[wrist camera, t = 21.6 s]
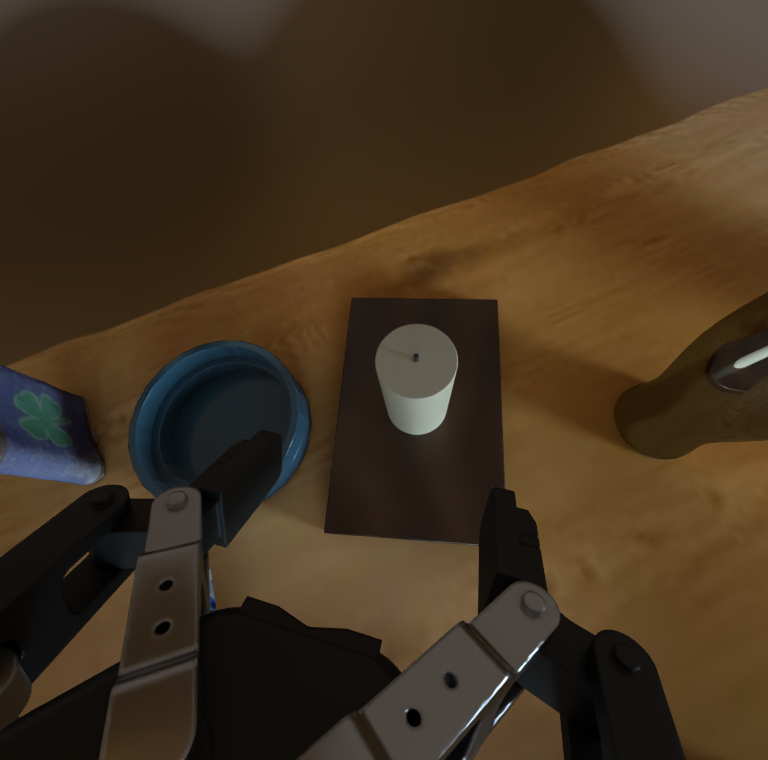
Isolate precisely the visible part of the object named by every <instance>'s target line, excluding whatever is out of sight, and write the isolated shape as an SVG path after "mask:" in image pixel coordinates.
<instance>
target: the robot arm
mask: <svg viewBox="0 0 768 760" xmlns="http://www.w3.org/2000/svg"><path fill="white" fill-rule="evenodd" d="M281 471H282V436H281V434H278V433H274V432H270V431H266V430H260V431H259V432H258V433H257V434H256V435H255V436H254V437H253V438H251V439H250V440H247V439H244V440H242V441H240V442H238V443H236V444H234V445H232V446H231V447H230V448H229V449H228V450H227V451H226V452H225V453H223V455H221V456H220V457H219V458H218V459H217V460H216V462H214V463H213V464H211V465H210V466H209V467H208V468H207V469H206V470H205V471H204V472H203V473H202V474H201V475H200V476H198V477H197V478H196V479H195V480H194V481H193V482H192V483H191V484H190V485H189V486H181V487H175V488H172V489H169V490H167V491H165V492H163V493H161V494H160V495H159V496H157V497H156V499H130V496H129V492H128V490H127V489H126V488H125V487H123V486H120V485H106V486H101V487H98V488H95V489H93V490H90V491H88V492H87V493H85V494H83V495H82V496H81V497H79V498H78V499H77V500H75V501H74V502H73V503H71V504H70V505H69V506H67V507H66V508H65V509H64V510H62V511H61V512H60V513H58V514H57V515H56V516H54V517H53V518H52V519H50V520H49V521H48V522H46V523H45V524H44V525H42V526H41V527H40V528H38V529H37V530H36V531H34V532H33V533H32V534H30V535H29V536H28V537H27V538H25V539H24V540H23V541H21V542H20V543H19V544H17V545H16V546H15V547H13V548H12V549H11V550H9V551H8V552H7V553H5V554H4V555H3V556H1V557H0V760H473V758H474V757H475V755H476V754H477V752H478V751H479V749H480V748H481V746H482V744H483V743H484V741H485V740H486V738H487V737H488V735H489V734H490V733H491V732H492V730H493V729H494V728H495V726H496V725H497V724H498V723H499V721H500V720H501V719H502V718H503V716H504V715H505V714H506V713H507V711H508V710H509V709H510V707H511V706H512V705H513V704H514V702H515V701H516V700H517V699H518V697H519V696H520V695H521V694H522V692H523V691H524V690H525V689H526V690H528V691H529V692H530V693H532V694H533V695H535V696H536V697H538V698H539V699H540V700H542V701H543V702H545V703H546V704H548V705H549V706H550V707H552V708H553V709H555V710H556V711H558V712H559V713H560V720H561V731H562V741H563V751H564V760H686V758H685V755H684V752H683V749H682V746H681V743H680V740H679V737H678V734H677V731H676V727H675V724H674V721H673V718H672V715H671V712H670V709H669V706H668V703H667V700H666V696H665V693H664V690H663V687H662V684H661V681H660V678H659V675H658V672H657V669H656V666H655V664H654V663H653V661H652V659H651V658H650V656H649V655H648V653H647V652H646V651H645V650H644V649H643V648H642V647H641V646H640V645H639V644H638V643H637V642H635V641H634V640H633V639H631V638H630V637H628V636H627V635H625V634H623V633H620V632H618V631H614V630H603V631H600V632H599V633H597V635H596V636H595V635H594V634H592V633H590V632H588V631H587V630H585V629H583V628H582V627H580V626H578V625H577V624H575V623H573V622H572V621H570V620H569V619H568V618H566V617H565V616H564V615H563V614H562V613H561V612H560V611H559V608H558V606H557V604H556V602H555V600H554V599H553V598H552V596H551V595H550V594H549V593H548V591H547V586H546V580H545V574H544V568H543V562H542V556H541V550H540V544H539V539H538V532H537V526H536V522H535V521H534V519H533V518H532V516H531V514H530V513H529V511H528V510H525V509H521V508H517V507H516V499H515V492H514V491H511V490H506V489H502V488H498V487H494V486H492V488H491V490H490V494H489V497H488V500H487V504H486V507H485V510H484V514H483V517H482V521H481V526H480V534H479V586H478V615H477V616H476V617H475V618H474V619H473V620H472V621H471V622H469V623H466V622H465V621H461V622H459V623H457V624H456V625H455V626H454V627H453V628H451V629H450V630H449V631H448V632H447V633H446V634H445V635H444V636H442V637H441V638H440V639H439V640H438V641H437V642H436V643H435V644H434V645H432V646H431V647H430V648H429V649H428V650H427V651H426V652H425V653H423V654H422V655H421V656H420V657H419V658H418V659H417V660H416V661H414V662H413V663H412V664H411V665H410V666H409V667H408V668H407V669H405V670H404V671H403V672H402V673H401V671H400V670H399V669H398V668H397V667H396V666H395V665H394V664H393V663H392V662H391V661H390V660H389V659H388V658H387V657H385V656H384V655H382V654H381V653H380V648H381V642H382V640H380V639H377V638H374V637H371V636H368V635H365V634H362V633H359V632H355V631H352V630H349V629H341V628H319V627H309V626H306V625H305V624H303V623H302V622H300V621H299V620H298V619H296V618H295V617H293V616H292V615H290V614H289V613H288V612H286V611H285V610H283V609H282V608H280V607H279V606H276V605H273V604H270V603H267V602H264V601H261V600H258V599H255V598H252V597H249V596H247V598H246V599H245V601H244V602H243V604H242V606H241V607H233V608H225V609H220V610H217V611H213V612H210V585H209V554H208V551H209V550H210V549H211V548H212V546H213V545H214V544H216V545H219V546H222V547H227V546H228V545H229V543H230V542H231V541H232V540H233V538H234V537H235V536H236V534H237V533H238V532H239V530H240V529H241V528H242V527H243V525H244V524H245V523H246V521H247V520H248V519H249V518H250V516H251V515H252V514H253V512H254V511H255V510H256V508H257V507H258V506H259V505H260V503H261V502H262V501H263V499H264V498H265V497H266V496H267V494H268V493H269V492H270V490H271V489H272V488H273V486H274V485H275V484H276V483H277V481H278V479H279V477H280V475H281ZM88 551H89V555H88V556H87V557H86V558H85V559H84V560H83V561H82V562H81V563H80V564H79V565H77V566H76V567H75V568H74V569H73V570H72V571H71V572H70V573H69V574H68V575H67V576H66V577H65V578H64V579H63V577H64V576H65V574H66V572H67V571H68V570H69V569H70V568H71V567H72V566H73V565H74V564H75V563H76V562H77V561H78V560H79V559H80V558H82V557H83V556H84V555H85V554H86V553H87V552H88ZM135 569H136V571H135V577H134V583H133V589H132V595H131V601H130V607H129V613H128V619H127V625H126V631H125V637H124V643H123V649H122V655H121V661H120V662H118V663H116V664H115V665H113V666H111V667H109V668H108V669H106V670H104V671H102V672H100V673H99V674H97V675H95V676H93V677H91V678H90V679H88V680H86V681H84V682H82V683H81V684H79V685H77V686H75V687H74V688H72V689H70V690H68V691H66V692H65V693H63V694H61V695H59V696H57V697H56V698H54V699H52V700H50V701H49V702H47V703H45V704H43V705H41V706H40V707H38V708H36V709H34V710H32V711H31V712H29V713H27V714H25V715H24V716H22V717H20V718H19V714H20V713H21V712H22V710H23V709H24V707H25V706H26V704H27V702H28V700H29V698H30V695H31V691H32V683H33V682H34V681H35V680H36V679H37V678H38V676H39V675H40V674H41V673H42V672H43V671H44V670H45V669H46V668H47V666H48V665H49V664H50V663H51V662H52V661H53V660H54V659H55V658H56V656H57V655H58V654H59V653H60V652H61V651H62V650H63V649H64V648H65V646H66V645H67V644H68V643H69V642H70V641H71V640H72V639H73V638H74V637H75V635H76V634H77V633H78V632H79V631H80V630H81V629H82V628H83V627H84V625H85V624H86V623H87V622H88V621H89V620H90V619H91V618H92V617H93V615H94V614H95V613H96V612H97V611H98V610H99V609H100V608H101V607H102V605H103V604H104V603H105V602H106V601H107V600H108V599H109V598H110V597H111V595H112V594H113V593H114V592H115V591H116V590H117V589H118V588H119V587H120V585H121V584H122V583H123V582H124V581H125V580H126V579H127V578H128V577H129V576H130V574H131V573H132V572H133V571H134V570H135Z"/></svg>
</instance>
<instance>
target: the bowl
mask: <svg viewBox="0 0 768 760" xmlns="http://www.w3.org/2000/svg"><path fill="white" fill-rule="evenodd" d="M260 430H266V431H270V432H274V433H278V434H281V436H282V471H281V475H280V477H279V479H278V481H277V483H276V484H275V485H274V486H273V488H272V489H271V490H270V492H269V493H268V494H267V496H266V497H265V498H264V499H263V500H265V499H267V498H269V497H271V496H272V495H273V494H274V493H275V492H277V491H278V490H279V489H280V488H281V487H282V486H284V485H285V484H286V483H287V482H288V481H289V479H290V478H291V476H292V475H293V474H294V472H295V471H296V469H297V468H298V467H299V465H300V463H301V461H302V459H303V457H304V454H305V452H306V449H307V447H308V443H309V438H310V431H311V414H310V406H309V402H308V400H307V397H306V395H305V393H304V390H303V388H302V386H301V385H300V384H299V383H298V381H297V380H296V379H295V378H294V377H293V376H292V374H291V373H290V372H289V371H288V370H287V368H286V367H285V366H284V365H283V364H282V363H281V361H280V360H279V359H278V358H277V357H276V356H275V355H273V354H271V353H270V352H268V351H267V350H265V349H264V348H262V347H260V346H257V345H254V344H250V343H247V342H244V341H224V340H222V341H217V342H212V343H207V344H203V345H200V346H197V347H195V348H193V349H191V350H189V351H186V352H184V353H182V354H180V355H179V356H178V357H176V358H175V359H173V360H172V361H171V362H169V363H168V364H167V365H165V366H164V367H163V368H162V369H161V370H160V371H159V372H158V374H157V375H156V376H155V377H154V378H153V379H152V380H151V381H150V382H149V384H148V385H147V387H146V388H145V390H144V392H143V393H142V395H141V397H140V399H139V400H138V402H137V404H136V407H135V410H134V413H133V417H132V420H131V423H130V429H129V445H128V447H129V452H130V457H131V461H132V466H133V469H134V471H135V472H136V474H137V476H138V478H139V479H140V481H141V483H142V485H143V486H144V487H145V488H146V489H147V490H148V491H149V492H150V493H151V494H153V495H154V496H155V497H157V496H159V495H160V494H161V493H163V492H165V491H167V490H169V489H172V488H175V487H181V486H189V485H190V484H191V483H192V482H193V481H194V480H195V479H196V478H197V477H198V476H200V475H201V474H202V473H203V472H204V471H205V470H206V469H207V468H208V467H209V466H210V465H211V464H213V463H214V462H216V460H217V459H218V458H219V457H220V456H221V455H223V453H225V452H226V451H227V450H228V449H229V448H230V447H231V446H232V445H234V444H236V443H238V442H240V441H242V440H244V439H247V440H250V439H251V438H253V437H254V436H255V435H256V434H257V433H258V432H259V431H260Z"/></svg>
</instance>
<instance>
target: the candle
mask: <svg viewBox="0 0 768 760" xmlns="http://www.w3.org/2000/svg"><path fill="white" fill-rule="evenodd" d="M375 367H376V372H377V375H378V379H379V382H380V386H381V390H382V393H383V397H384V401H385V404H386V408H387V412H388V415H389V417H390V419H391V421H392V423H393V424H394V425H395V426H396V427H397V428H398V429H400V430H401V431H403V432H406V433H409V434H414V435H421V434H426V433H429V432H431V431H433V430H434V429H436V428H437V427H438V426H439V425H440V424H441V423H442V421H443V420H444V418H445V415H446V412H447V408H448V404H449V400H450V396H451V392H452V388H453V384H454V380H455V376H456V372H457V367H458V356H457V351H456V349H455V346H454V344H453V343H452V341H451V340H450V339H449V338H448V336H447V335H445V334H444V333H443V332H442V331H440V330H438V329H437V328H434V327H432V326H429V325H424V324H409V325H405V326H402V327H399V328H397V329H395V330H393V331H392V332H391V333H389V334H388V335H387V336H386V337H385V338H384V339H383V340H382V342H381V343H380V345H379V347H378V349H377V352H376V357H375Z"/></svg>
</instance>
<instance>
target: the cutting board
mask: <svg viewBox="0 0 768 760" xmlns="http://www.w3.org/2000/svg"><path fill="white" fill-rule="evenodd" d="M409 324H424V325H429V326H432V327H434V328H437V329H438V330H440V331H442V332H443V333H444V334H445V335H447V336H448V338H449V339H450V340H451V341H452V343H453V344H454V346H455V349H456V351H457V356H458V367H457V372H456V376H455V380H454V384H453V388H452V392H451V396H450V400H449V404H448V408H447V412H446V415H445V418H444V420H443V421H442V423H441V424H440V425H439V426H438V427H437V428H436V429H434V430H433V431H431V432H429V433H426V434H421V435H414V434H409V433H406V432H403V431H401V430H400V429H398V428H397V427H396V426H395V425H394V424H393V423H392V421H391V419H390V417H389V415H388V412H387V408H386V404H385V401H384V397H383V393H382V390H381V386H380V382H379V379H378V375H377V372H376V367H375V357H376V352H377V349H378V347H379V345H380V343H381V342H382V340H383V339H384V338H385V337H386V336H387V335H388V334H389V333H391V332H392V331H393V330H395V329H397V328H399V327H402V326H405V325H409ZM492 486H494V487H498V488H502V489H505V476H504V451H503V426H502V402H501V377H500V353H499V328H498V303H497V300H478V299H404V298H352V301H351V309H350V318H349V326H348V335H347V343H346V352H345V360H344V369H343V377H342V386H341V394H340V402H339V411H338V419H337V428H336V436H335V445H334V453H333V462H332V470H331V479H330V487H329V496H328V504H327V513H326V521H325V529H324V533H330V534H343V535H355V536H368V537H380V538H392V539H405V540H417V541H429V542H442V543H454V544H467V545H479V534H480V526H481V521H482V517H483V514H484V510H485V507H486V504H487V500H488V497H489V494H490V490H491V488H492Z"/></svg>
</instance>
